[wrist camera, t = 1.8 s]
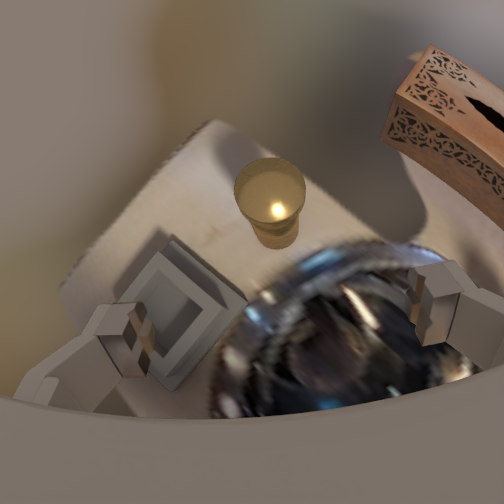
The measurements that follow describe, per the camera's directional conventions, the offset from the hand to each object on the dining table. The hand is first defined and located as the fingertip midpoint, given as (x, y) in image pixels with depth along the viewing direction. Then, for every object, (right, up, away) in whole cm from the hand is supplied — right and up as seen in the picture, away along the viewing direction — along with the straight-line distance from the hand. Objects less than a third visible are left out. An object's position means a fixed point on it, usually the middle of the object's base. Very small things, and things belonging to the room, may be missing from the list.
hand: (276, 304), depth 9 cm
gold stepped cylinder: (+2, +4, +30) cm, 30 cm away
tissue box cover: (+32, +15, +29) cm, 46 cm away
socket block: (-10, -6, +28) cm, 31 cm away
